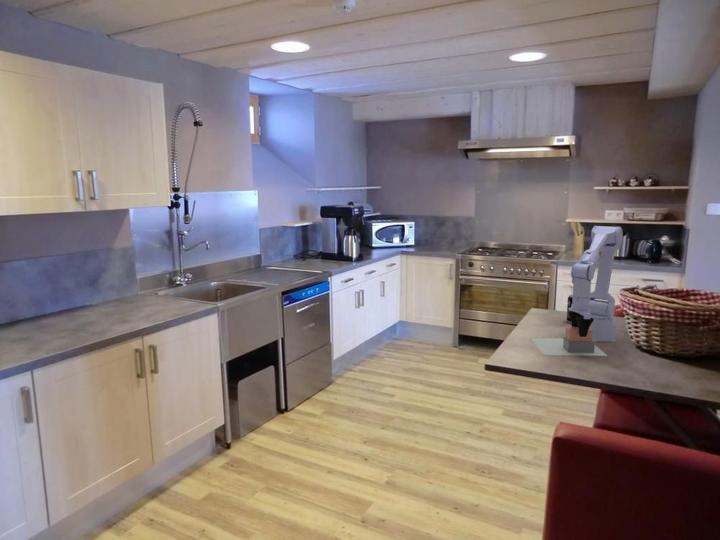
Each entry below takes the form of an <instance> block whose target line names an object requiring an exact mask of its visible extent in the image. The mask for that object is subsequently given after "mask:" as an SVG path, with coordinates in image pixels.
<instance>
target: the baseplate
mask: <svg viewBox="0 0 720 540" xmlns="http://www.w3.org/2000/svg"><path fill="white" fill-rule="evenodd" d="M529 338H530V337H529ZM530 340H531V342H532V344H534V346H535V347H536V348H537V350H538V351H539V352H540V353H541V354H542V355H543V356H586V357H589V356H591V357H594V356H595V357H599V356H600V357H602V356H603V357H608V355H607V354H606V353H605V352H604V351H602V349H600V348H599V347H598V346H597V345H596V344H595V348H594V353H569V352H567V351H566V350H565V349H564V348H563V340H564V338H557V337H555V338H553V337H550V338H549V337H546V338H542V337H541V338H539V337H536V338H535V337H532V338H530Z"/></svg>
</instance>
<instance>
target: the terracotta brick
mask: <svg viewBox="0 0 720 540" xmlns="http://www.w3.org/2000/svg"><path fill="white" fill-rule="evenodd" d="M564 337H565V338H566V339H568V340H569V341H592V338H593V330H592V329H590V328H589V330H588V333H587V336H586V337H580V335H579V327H572V326H566V327H565V336H564Z"/></svg>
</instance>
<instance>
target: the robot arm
mask: <svg viewBox="0 0 720 540" xmlns="http://www.w3.org/2000/svg"><path fill="white" fill-rule="evenodd" d="M590 232H591V234H590V238H591V244H590V245H589V249H586V250H585V251H583V253H582V255H581V257H580V258H579V260H578V261H577V262H576V263H574V264H573V265H572V267H571V271H570V276H571V284H573V285H572V295H573V301H572V304H571V308H569V311H568V314H569V316H570V319H571V324H570V325H571V327H579V335H580V337H586V336H587V333H588V330H589V328H590V329H592V330H593V338H592V340H593V341H594V342H616V341H617V340H616V335H617V334H616V333H617V322H616V319H615V317H613V316H614V314H615V309H616V307H615V306H616V305H615V304H616V301H615V298H614V296H612V295H611V294H610V293H609V289H610V285H611V284H610V283H611V278H612V272H613V267H614V261H615V260H614V259H615V254H616V251H619V250H620V249H621V246H622V241H623V235H624V234H623V229H622V227H621V226H606V225H604V226H602V225H601V226H600V225H594V226H593V227H592V229H591V231H590ZM598 262H599V264H598ZM597 264H598V269H597V274H596V282H595V287H594V291H592V290H591V288H592V287H591V286H592V280H593V279H594V277H595V272H596V266H597Z"/></svg>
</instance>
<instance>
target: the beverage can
mask: <svg viewBox="0 0 720 540" xmlns="http://www.w3.org/2000/svg"><path fill="white" fill-rule="evenodd" d="M572 301H573V294H569V295H568V297H567V305H566V322H567V323H568V324H570V325H572V324H571V319H570V316H569V314H568V311H569V308H571V304H572Z"/></svg>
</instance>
